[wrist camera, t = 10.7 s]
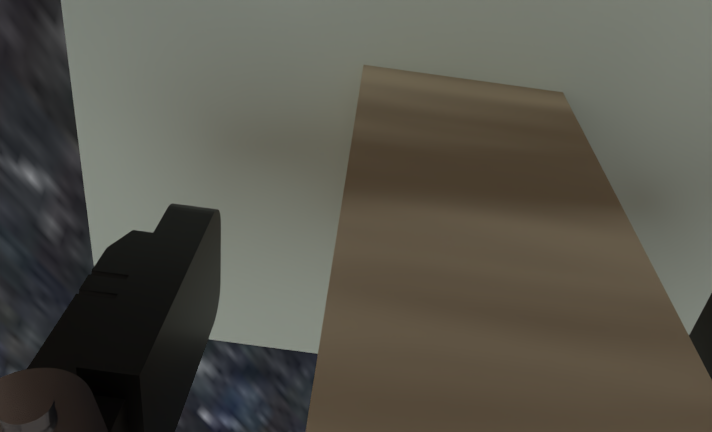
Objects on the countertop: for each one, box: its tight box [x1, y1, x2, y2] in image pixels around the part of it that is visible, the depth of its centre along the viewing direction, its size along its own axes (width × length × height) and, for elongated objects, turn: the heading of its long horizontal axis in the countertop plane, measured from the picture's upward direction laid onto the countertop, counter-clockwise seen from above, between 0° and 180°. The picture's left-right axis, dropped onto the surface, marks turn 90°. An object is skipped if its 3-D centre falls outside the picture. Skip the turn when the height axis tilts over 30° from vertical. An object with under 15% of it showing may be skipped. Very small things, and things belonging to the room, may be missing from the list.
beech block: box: [306, 65, 712, 432], centre depth 10 cm, size 4×4×10 cm
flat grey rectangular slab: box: [61, 0, 712, 354], centre depth 14 cm, size 12×18×1 cm, turn 83°
